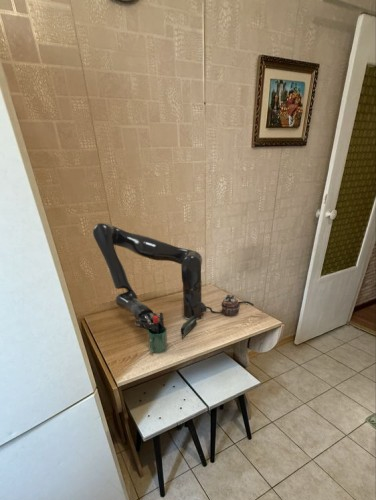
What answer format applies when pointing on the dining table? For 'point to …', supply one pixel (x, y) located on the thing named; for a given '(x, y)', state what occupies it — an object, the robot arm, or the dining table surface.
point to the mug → (157, 340)
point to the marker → (156, 323)
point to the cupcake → (230, 306)
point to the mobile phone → (188, 325)
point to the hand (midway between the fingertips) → (159, 328)
